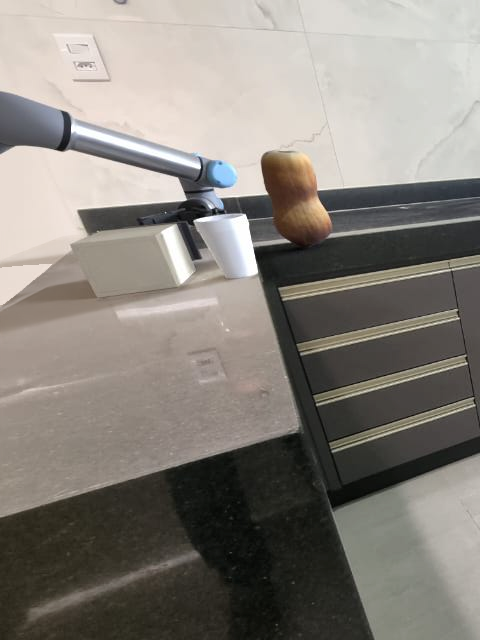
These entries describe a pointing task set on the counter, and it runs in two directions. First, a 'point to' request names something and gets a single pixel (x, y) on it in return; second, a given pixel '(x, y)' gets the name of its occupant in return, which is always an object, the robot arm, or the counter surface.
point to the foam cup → (229, 243)
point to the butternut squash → (295, 198)
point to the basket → (186, 236)
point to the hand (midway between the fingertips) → (175, 223)
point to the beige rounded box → (134, 259)
